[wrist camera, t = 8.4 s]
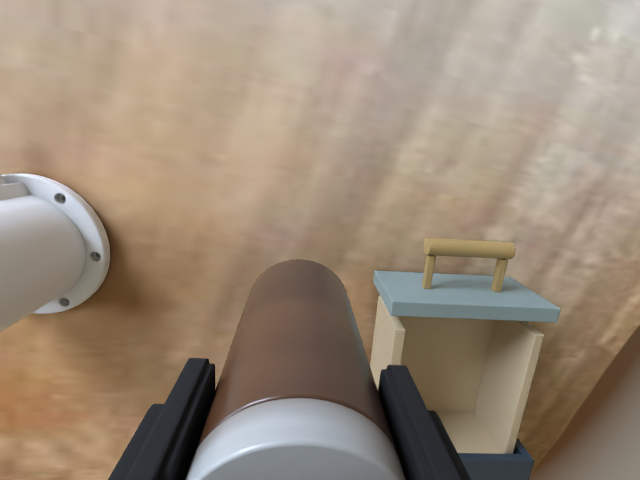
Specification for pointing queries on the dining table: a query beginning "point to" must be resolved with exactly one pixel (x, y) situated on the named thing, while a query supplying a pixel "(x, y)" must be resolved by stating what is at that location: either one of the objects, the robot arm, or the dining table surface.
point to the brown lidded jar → (296, 389)
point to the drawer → (463, 342)
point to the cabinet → (499, 464)
